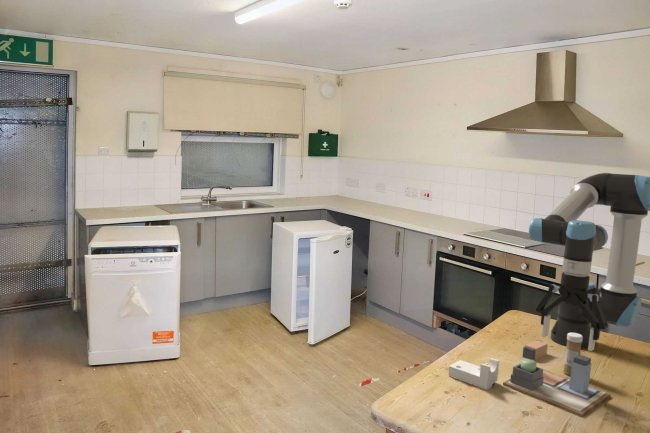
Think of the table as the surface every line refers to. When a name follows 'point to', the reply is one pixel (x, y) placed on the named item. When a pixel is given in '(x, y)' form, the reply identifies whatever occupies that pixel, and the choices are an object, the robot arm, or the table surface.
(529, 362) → the button
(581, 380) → the grey square prism
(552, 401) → the wood rimmed sorting board
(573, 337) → the sprinkles bottle
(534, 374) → the button housing
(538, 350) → the terracotta marker
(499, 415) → the table surface
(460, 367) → the bracket
